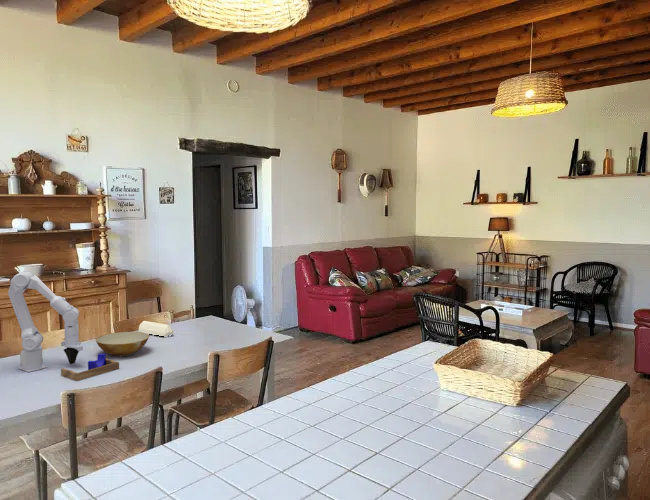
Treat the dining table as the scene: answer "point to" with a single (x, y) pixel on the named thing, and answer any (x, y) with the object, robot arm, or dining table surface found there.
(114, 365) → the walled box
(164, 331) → the crystal
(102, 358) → the blue cradle block
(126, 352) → the bowl
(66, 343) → the robot arm
